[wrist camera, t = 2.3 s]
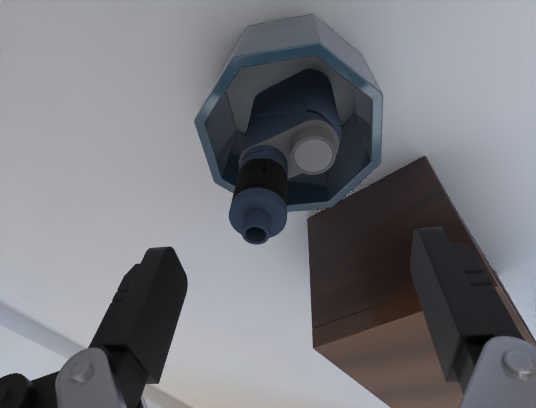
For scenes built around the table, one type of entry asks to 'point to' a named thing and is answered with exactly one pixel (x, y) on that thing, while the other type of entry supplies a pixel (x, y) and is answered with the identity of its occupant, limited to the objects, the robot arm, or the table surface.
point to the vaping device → (283, 151)
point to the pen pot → (353, 132)
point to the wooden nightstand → (385, 287)
